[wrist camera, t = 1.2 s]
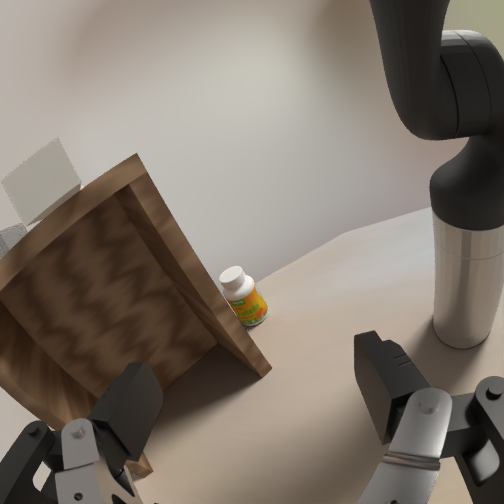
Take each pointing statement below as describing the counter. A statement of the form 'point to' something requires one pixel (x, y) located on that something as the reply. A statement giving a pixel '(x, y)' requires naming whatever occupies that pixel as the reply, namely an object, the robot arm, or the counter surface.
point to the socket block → (11, 237)
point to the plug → (42, 183)
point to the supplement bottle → (243, 296)
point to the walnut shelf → (108, 301)
